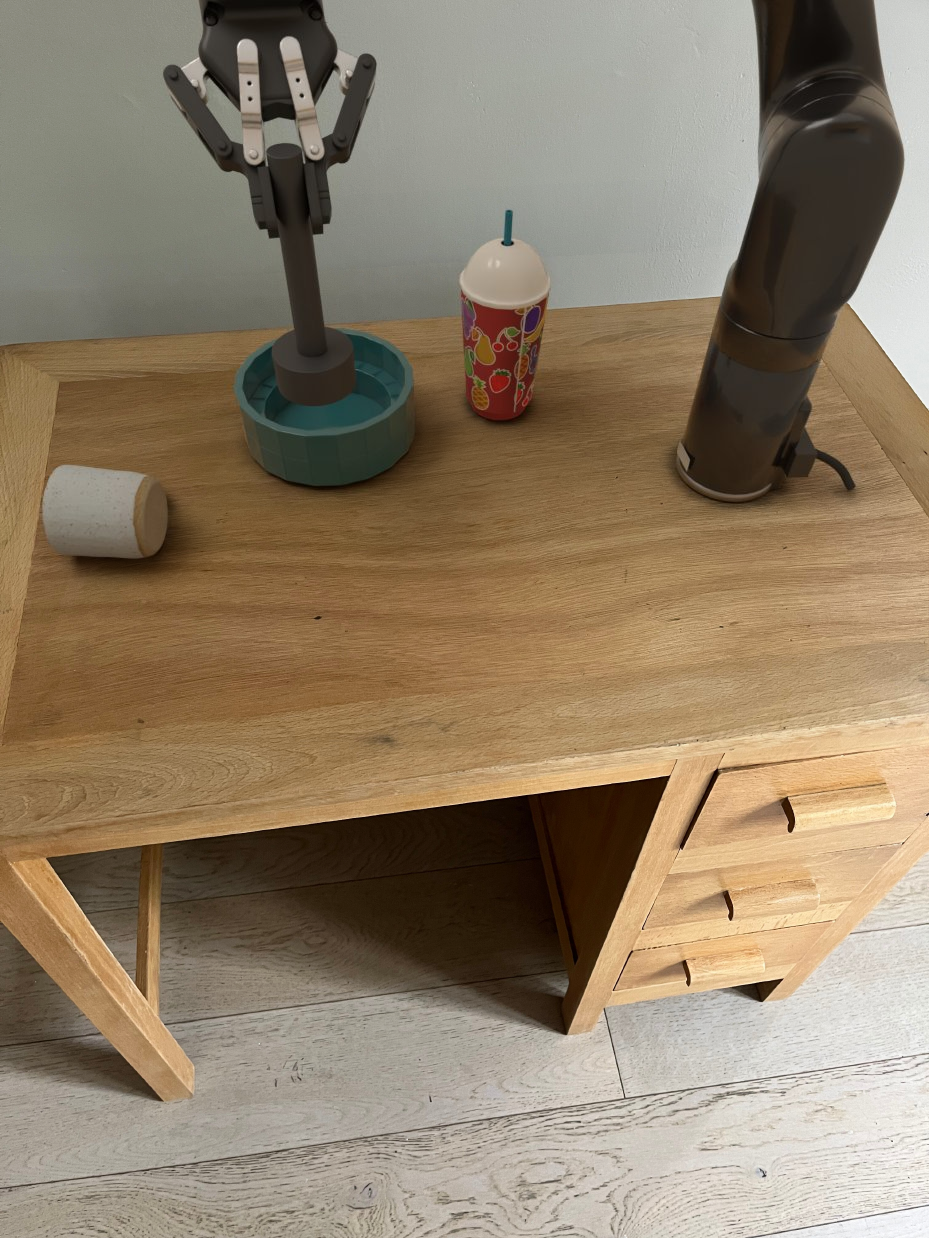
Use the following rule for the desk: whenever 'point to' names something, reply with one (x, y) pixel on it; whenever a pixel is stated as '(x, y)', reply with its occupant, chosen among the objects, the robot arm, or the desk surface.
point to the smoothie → (502, 324)
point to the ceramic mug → (104, 512)
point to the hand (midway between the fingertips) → (296, 231)
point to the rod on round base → (304, 297)
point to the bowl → (330, 417)
